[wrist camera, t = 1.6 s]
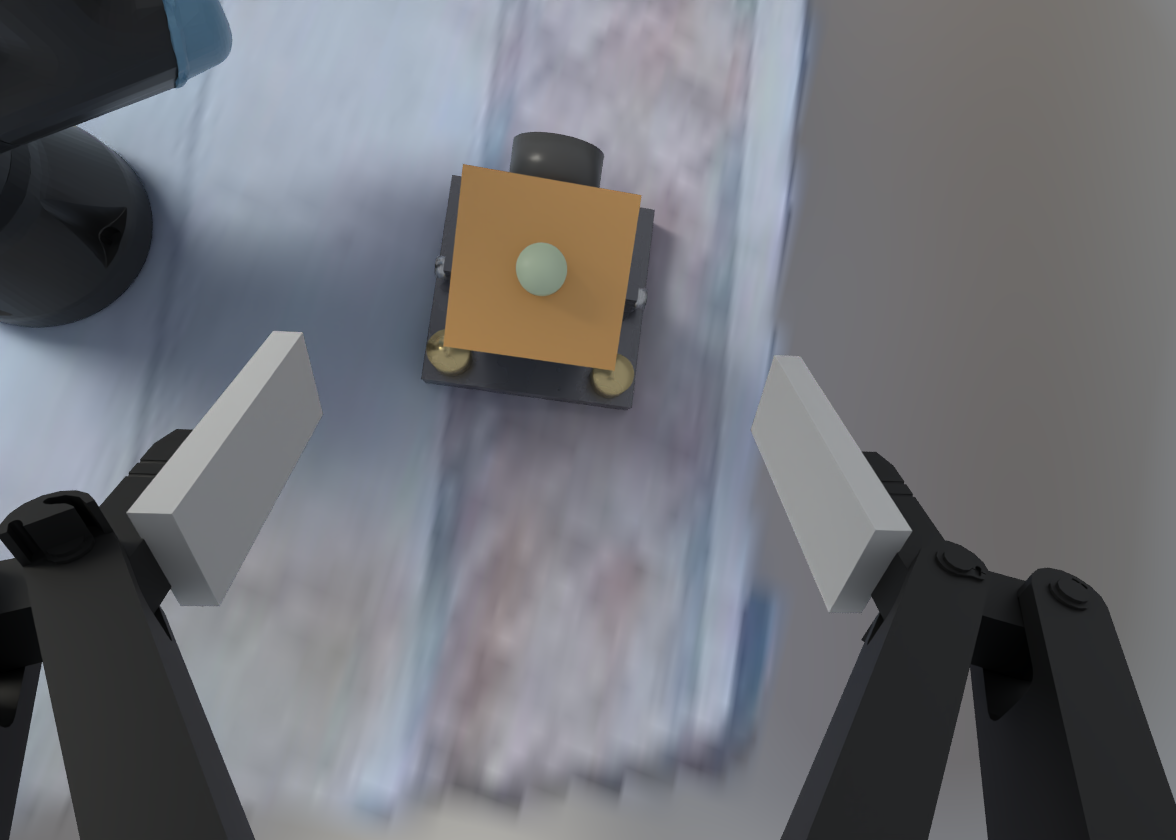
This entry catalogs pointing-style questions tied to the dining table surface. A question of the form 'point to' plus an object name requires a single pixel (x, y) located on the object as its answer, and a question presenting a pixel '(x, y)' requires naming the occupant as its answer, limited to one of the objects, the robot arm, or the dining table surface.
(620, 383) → the leveling base
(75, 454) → the dining table surface
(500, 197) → the box
